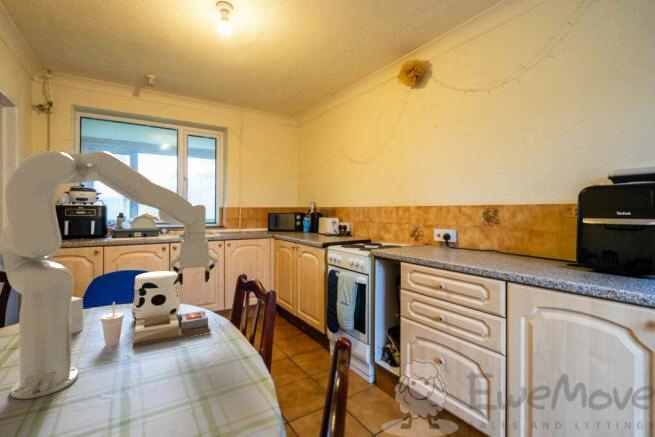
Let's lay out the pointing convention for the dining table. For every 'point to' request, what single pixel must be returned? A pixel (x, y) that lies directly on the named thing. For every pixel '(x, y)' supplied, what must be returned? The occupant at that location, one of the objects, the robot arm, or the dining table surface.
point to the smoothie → (112, 327)
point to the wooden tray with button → (168, 328)
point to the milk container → (155, 294)
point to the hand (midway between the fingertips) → (194, 282)
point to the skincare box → (76, 314)
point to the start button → (193, 316)
